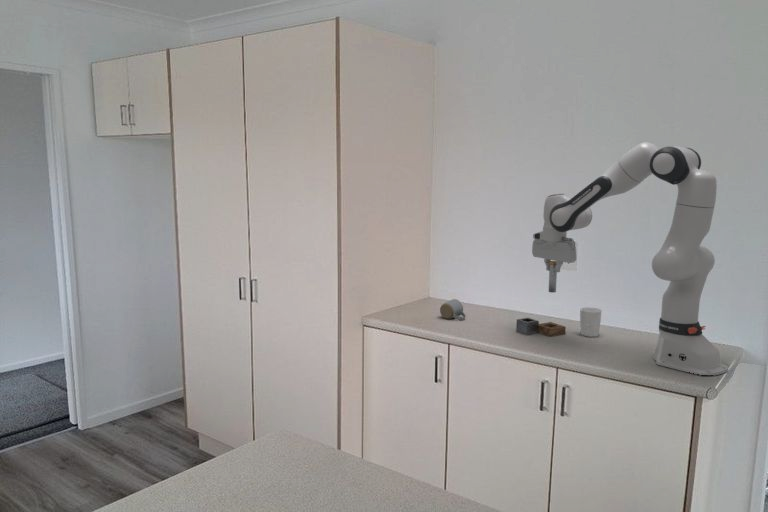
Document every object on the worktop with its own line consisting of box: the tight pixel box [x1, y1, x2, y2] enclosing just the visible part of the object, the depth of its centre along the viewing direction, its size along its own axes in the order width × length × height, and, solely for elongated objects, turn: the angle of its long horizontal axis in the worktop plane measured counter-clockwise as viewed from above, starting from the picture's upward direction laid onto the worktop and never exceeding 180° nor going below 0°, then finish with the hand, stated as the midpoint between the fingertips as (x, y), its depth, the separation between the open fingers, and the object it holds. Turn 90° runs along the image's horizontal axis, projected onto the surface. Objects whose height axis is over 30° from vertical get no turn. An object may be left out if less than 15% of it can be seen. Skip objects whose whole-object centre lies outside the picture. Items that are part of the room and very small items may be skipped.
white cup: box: [579, 306, 603, 338], centre depth 230 cm, size 8×8×10 cm
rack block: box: [537, 321, 567, 338], centre depth 232 cm, size 8×8×3 cm
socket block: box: [515, 317, 540, 336], centre depth 233 cm, size 6×6×5 cm
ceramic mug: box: [439, 298, 466, 321], centre depth 255 cm, size 11×8×8 cm
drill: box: [548, 260, 558, 294], centre depth 229 cm, size 3×3×12 cm
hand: (553, 271), depth 229 cm, fingers closed on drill, 3 cm apart
